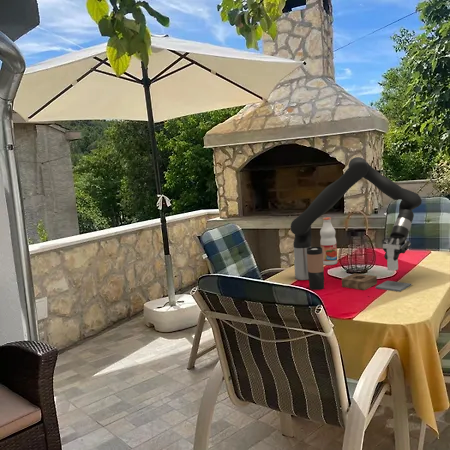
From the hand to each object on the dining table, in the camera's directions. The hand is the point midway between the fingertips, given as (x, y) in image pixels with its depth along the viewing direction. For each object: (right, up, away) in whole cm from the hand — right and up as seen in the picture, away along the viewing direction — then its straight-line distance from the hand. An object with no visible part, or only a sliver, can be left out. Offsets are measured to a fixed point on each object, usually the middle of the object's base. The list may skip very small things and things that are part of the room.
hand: (390, 259), depth 205 cm
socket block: (-11, -14, +10) cm, 20 cm away
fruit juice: (-14, -8, +61) cm, 63 cm away
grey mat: (+3, -13, +3) cm, 14 cm away
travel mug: (-32, -15, +12) cm, 37 cm away
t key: (+2, -5, +2) cm, 6 cm away
